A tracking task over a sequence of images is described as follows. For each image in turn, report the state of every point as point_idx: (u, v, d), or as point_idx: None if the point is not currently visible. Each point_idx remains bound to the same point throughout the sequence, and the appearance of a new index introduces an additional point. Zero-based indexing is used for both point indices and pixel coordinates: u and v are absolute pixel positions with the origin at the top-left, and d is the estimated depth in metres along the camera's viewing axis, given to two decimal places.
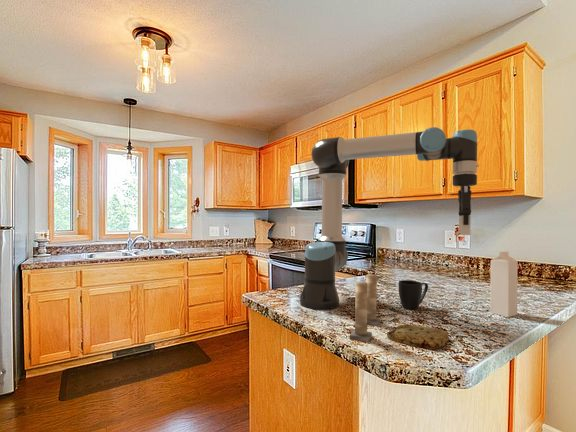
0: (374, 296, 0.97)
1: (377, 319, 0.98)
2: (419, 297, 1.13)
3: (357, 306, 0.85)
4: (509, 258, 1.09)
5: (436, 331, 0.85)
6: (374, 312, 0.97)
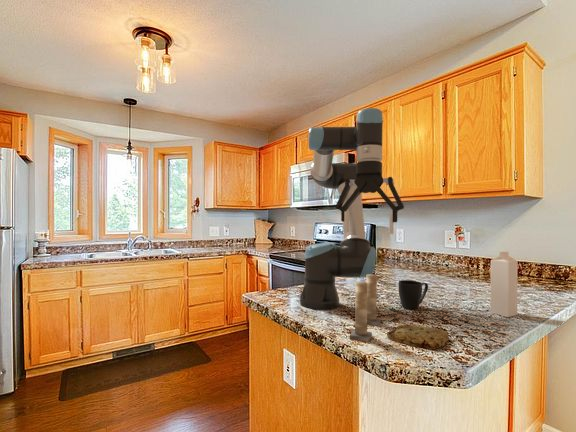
0: (374, 296, 0.97)
1: (377, 319, 0.98)
2: (419, 297, 1.13)
3: (357, 306, 0.85)
4: (509, 258, 1.09)
5: (436, 331, 0.85)
6: (374, 312, 0.97)
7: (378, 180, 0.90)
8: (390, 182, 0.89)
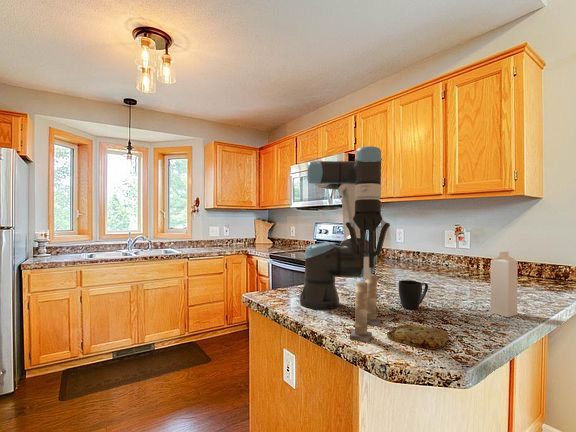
0: (374, 296, 0.97)
1: (377, 319, 0.98)
2: (419, 297, 1.13)
3: (357, 306, 0.85)
4: (509, 258, 1.09)
5: (436, 331, 0.85)
6: (374, 312, 0.97)
7: (377, 218, 0.90)
8: (384, 228, 0.89)
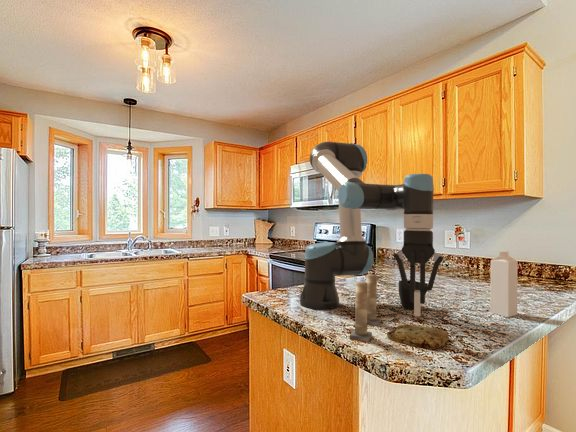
0: (374, 296, 0.97)
1: (377, 319, 0.98)
2: None
3: (357, 306, 0.85)
4: (509, 258, 1.09)
5: (436, 331, 0.85)
6: (374, 312, 0.97)
7: (429, 251, 0.84)
8: (438, 262, 0.83)
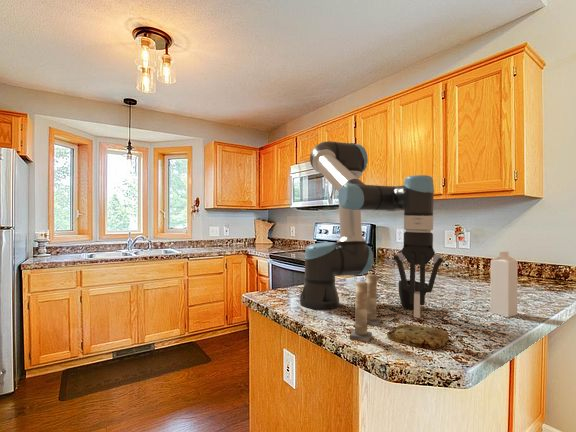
0: (374, 296, 0.97)
1: (377, 319, 0.98)
2: None
3: (357, 306, 0.85)
4: (509, 258, 1.09)
5: (436, 331, 0.85)
6: (374, 312, 0.97)
7: (429, 253, 0.84)
8: (438, 263, 0.83)
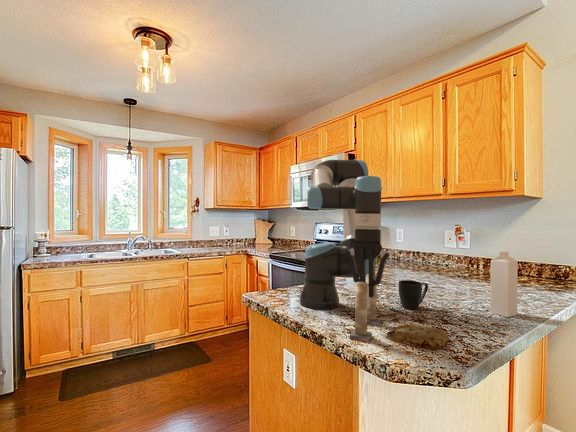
0: (374, 296, 0.97)
1: (377, 319, 0.98)
2: (419, 297, 1.13)
3: (357, 306, 0.85)
4: (509, 258, 1.09)
5: (436, 331, 0.85)
6: (374, 312, 0.97)
7: (376, 248, 0.90)
8: (384, 258, 0.89)
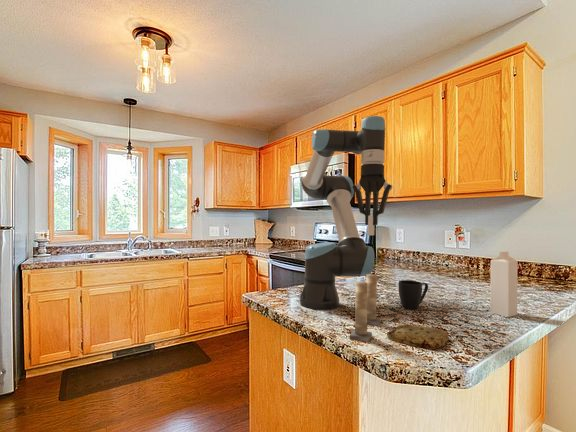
0: (374, 296, 0.97)
1: (377, 319, 0.98)
2: (419, 297, 1.13)
3: (357, 306, 0.85)
4: (509, 258, 1.09)
5: (436, 331, 0.85)
6: (374, 312, 0.97)
7: (380, 181, 1.01)
8: (387, 189, 1.00)
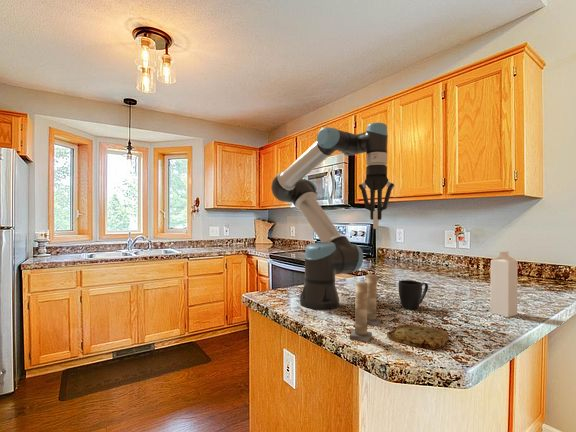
0: (374, 296, 0.97)
1: (377, 319, 0.98)
2: (419, 297, 1.13)
3: (357, 306, 0.85)
4: (509, 258, 1.09)
5: (436, 331, 0.85)
6: (374, 312, 0.97)
7: (384, 180, 1.13)
8: (390, 187, 1.12)
